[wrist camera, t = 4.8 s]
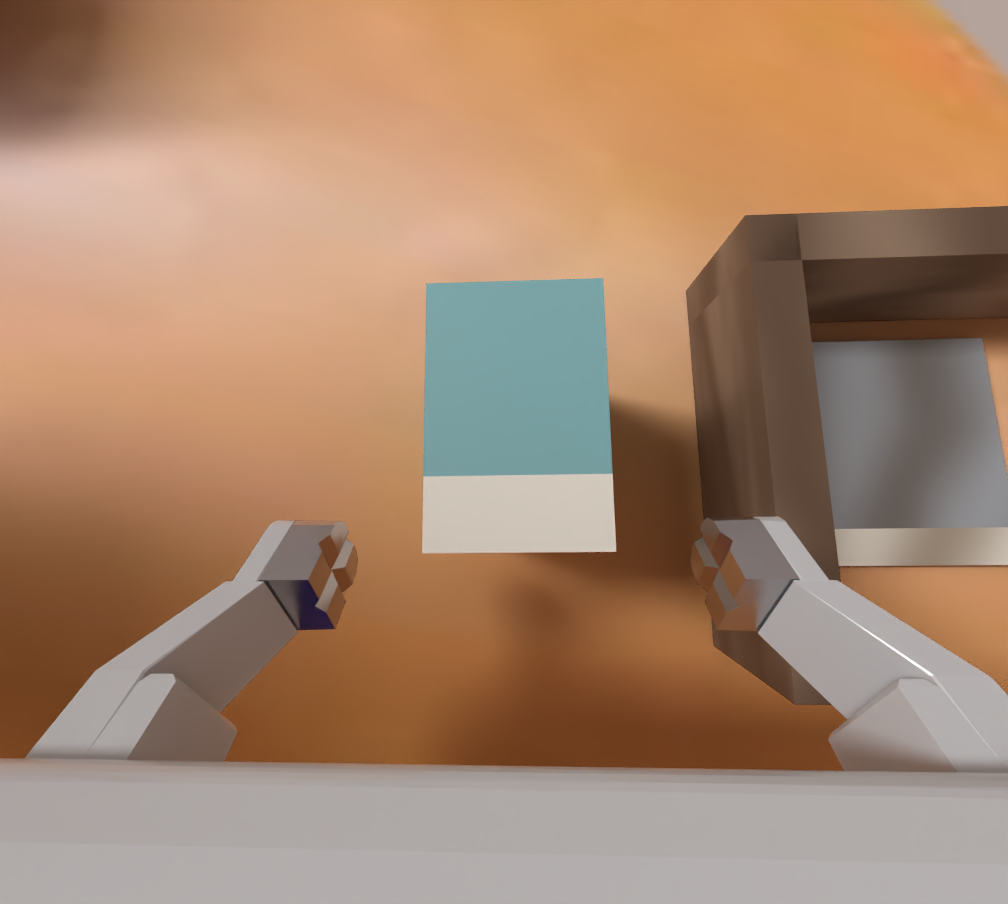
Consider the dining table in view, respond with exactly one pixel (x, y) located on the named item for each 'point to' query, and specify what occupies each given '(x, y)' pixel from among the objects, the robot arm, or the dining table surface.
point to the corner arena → (851, 394)
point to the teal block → (517, 418)
